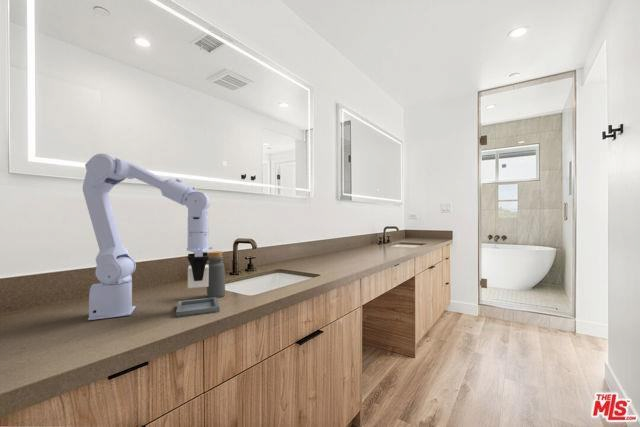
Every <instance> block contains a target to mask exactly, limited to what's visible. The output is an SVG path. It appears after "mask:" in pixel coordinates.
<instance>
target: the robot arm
mask: <svg viewBox="0 0 640 427" xmlns="http://www.w3.org/2000/svg"><path fill="white" fill-rule="evenodd" d="M84 167H85V170H86V173H85V175H84V176H85V177H84V180H83V184H82V192H83V196H84V199H85V203H86V208H87V210H88V214H89V219H90V221H91V225H92V228H93V232H94V234H95V235H94V236H95V238H96V242H97V247H98V249H99V252H98V253H97V255H96V257H95V262H96V267H95V271H94V272H95V277H96V279H97V280H98V281H99V283H93V284H92V285H91V286H90V288H89V293H88V318H87V321H93V320H102V319H111V318H117V317H118V318H120V317H128V316H131V315H132V314H133V312H134V310H135V309H136V305H133V277H132V274H134V273H135V271H136V269H137V264H136V261H135V259H133V257H132V256H131V255H130V252H129V250H128V249H127V248H126V247H125V246H124V245H123V242H122V238H121V234H120V231H119V228H118V224H117V221H116V217H115V214H114V208H113V206H112V202H111V199H110V195H109V192H110V191H111V190H112V189H113V188H114V187H115V186H116V185H118V184H120V183H121V182H123V181H125V180H126V179H129V180H132V179H136V180H138V181H141V182H143V183H145V184H147V185H150V186H151V187H152V186H153V187H154V188H157V189H158V190H160V193H161V195H162V196H163V197H165V198H167V199H168V200H169V199H170V200H171V201H173V202H175V203H178V204H180V205H181V206H185V207H186V208H187V247H186V251H188V252H191V253H188V254H187V260H188V262H189V264H190V265H191V267H192V272H193V278H194V281H202V279H203V275H204V270H205V265H207V264H208V262H209V261H208V259H209V255H208V252H209V250H213V249H214V247H213V246H209V241H210V240H209V230H210V229H209V223H210V222H209V209H208V208H210V205H211V201H210V200H211V199H210V198H209V196H208V194H206V193H205V192H203V191H197V190H198V189H197V187H195V186H194V187H191V186H189V185H187V184H185V183H182V182H183V181H182V180H181V179H180V178H176V179H175V178H169V179H164V178H162V177H160V176H158V175H157V174H155V173H153V172H150V171H149V170H147V169H145V168H143V167H141V166H139V165H137V164H135V163H133V162H129V161H126V160H123V159H121V158H118V157H112V156H111V155H109V154H108V153H107V154H106V153H97V154H95V155H93V156H92V157H90V159H89V160H88V161H87V162H86V163H85V164H84ZM207 251H208V252H207Z"/></svg>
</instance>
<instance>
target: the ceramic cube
mask: <svg viewBox="0 0 640 427" xmlns="http://www.w3.org/2000/svg"><path fill="white" fill-rule="evenodd" d="M207 287H209V265H208V264H206V265H205V270H204V275H203V279H202V281H194V278H193V272H192V267H191V264H190V265H188V267H187V289H195V288H207Z"/></svg>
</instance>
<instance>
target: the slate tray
mask: <svg viewBox="0 0 640 427" xmlns="http://www.w3.org/2000/svg"><path fill="white" fill-rule="evenodd" d="M219 304H220V303H219V301H218V297H214V298H210V297H206V298H195V299H189V300H180V301H178V300H177V306H176V312H175V316H176V318H182V317H189V316H197V315H203V314H204V315H205V314H212V313H219V312H220V305H219Z"/></svg>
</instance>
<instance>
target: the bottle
mask: <svg viewBox="0 0 640 427" xmlns="http://www.w3.org/2000/svg"><path fill="white" fill-rule="evenodd" d="M207 256H209V259H208V261H207V262H209V263H207V265H209V287H206V296H207V297H206V298H214V297H216V298H221V297H224V296H225V295H226V277H225V276H226V274H225V273H226V271H225V269H226V268H225V263H224V262H222V261H223V260H224V256H223V251H221V250H219V251H217V250H216V251H208V255H207Z"/></svg>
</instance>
